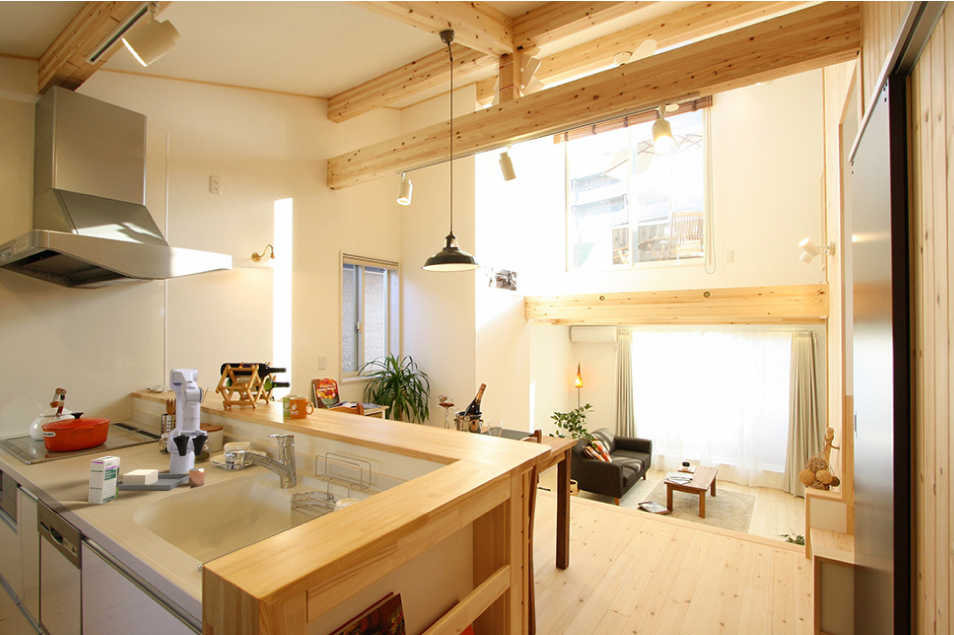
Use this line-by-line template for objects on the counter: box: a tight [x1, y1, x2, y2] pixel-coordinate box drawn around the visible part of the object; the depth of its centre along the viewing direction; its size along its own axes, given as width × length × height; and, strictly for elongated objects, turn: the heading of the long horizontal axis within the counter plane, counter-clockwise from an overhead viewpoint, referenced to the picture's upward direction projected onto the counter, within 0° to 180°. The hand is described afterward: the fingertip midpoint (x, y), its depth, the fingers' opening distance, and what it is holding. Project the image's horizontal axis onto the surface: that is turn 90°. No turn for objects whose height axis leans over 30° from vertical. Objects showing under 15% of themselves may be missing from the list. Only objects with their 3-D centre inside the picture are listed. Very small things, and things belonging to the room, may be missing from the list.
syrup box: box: [87, 455, 121, 505], centre depth 159 cm, size 6×6×14 cm
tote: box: [118, 472, 189, 491], centre depth 177 cm, size 16×21×2 cm
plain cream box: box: [121, 469, 159, 485], centre depth 176 cm, size 8×8×4 cm
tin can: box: [187, 467, 206, 488], centre depth 179 cm, size 5×5×6 cm
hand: (190, 455), depth 178 cm, fingers open, 7 cm apart
